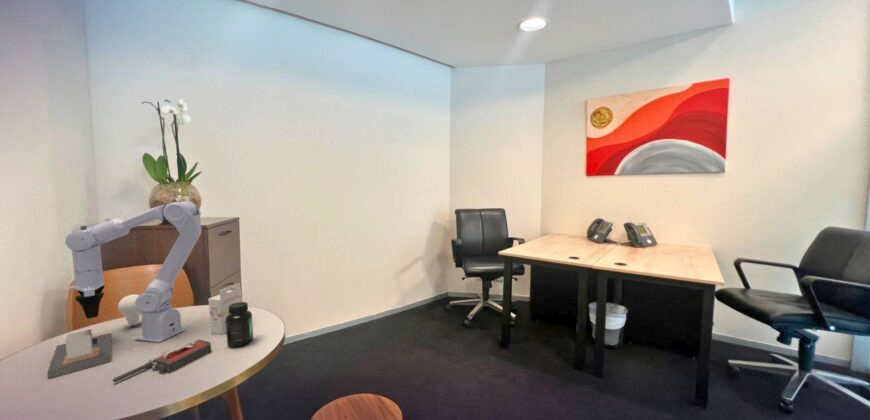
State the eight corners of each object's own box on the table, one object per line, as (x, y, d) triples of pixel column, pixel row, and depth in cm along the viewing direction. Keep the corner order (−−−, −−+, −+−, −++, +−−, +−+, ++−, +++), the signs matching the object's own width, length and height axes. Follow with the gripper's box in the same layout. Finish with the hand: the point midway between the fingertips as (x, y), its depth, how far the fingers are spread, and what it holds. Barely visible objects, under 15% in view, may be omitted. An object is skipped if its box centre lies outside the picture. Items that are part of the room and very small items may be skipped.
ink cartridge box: (231, 322, 111) (229, 281, 110) (244, 323, 110) (241, 282, 109) (210, 333, 103) (207, 289, 102) (223, 334, 102) (220, 290, 101)
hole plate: (111, 361, 87) (110, 354, 87) (48, 379, 79) (47, 370, 79) (111, 338, 100) (111, 332, 99) (57, 352, 92) (57, 345, 92)
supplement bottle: (258, 340, 98) (256, 302, 97) (236, 350, 92) (233, 310, 91) (244, 335, 101) (242, 299, 100) (222, 345, 95) (219, 306, 94)
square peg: (92, 355, 86) (90, 334, 85) (67, 362, 83) (65, 340, 82) (93, 349, 89) (91, 329, 89) (69, 355, 86) (67, 334, 85)
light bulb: (135, 321, 112) (133, 291, 111) (152, 322, 111) (149, 292, 110) (114, 330, 105) (111, 298, 105) (131, 331, 105) (128, 299, 104)
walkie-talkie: (197, 345, 96) (110, 385, 77) (195, 331, 96) (109, 368, 77) (217, 350, 93) (132, 393, 74) (216, 336, 92) (130, 375, 74)
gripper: (70, 267, 97) (74, 310, 98) (65, 277, 87) (70, 325, 88) (103, 263, 102) (107, 304, 103) (103, 272, 92) (107, 317, 93)
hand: (92, 313), depth 96 cm, fingers open, 7 cm apart
